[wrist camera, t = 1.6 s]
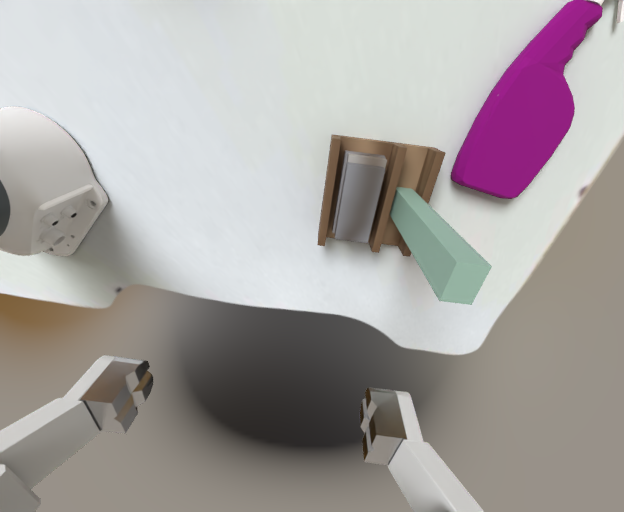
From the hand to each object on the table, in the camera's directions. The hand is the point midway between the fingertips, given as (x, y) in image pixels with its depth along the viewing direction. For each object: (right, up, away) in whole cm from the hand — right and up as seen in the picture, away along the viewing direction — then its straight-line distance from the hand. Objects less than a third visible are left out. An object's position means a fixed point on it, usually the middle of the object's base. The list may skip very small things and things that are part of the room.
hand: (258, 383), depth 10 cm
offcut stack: (+8, +13, +27) cm, 31 cm away
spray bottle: (+29, +25, +22) cm, 44 cm away
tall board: (+14, +13, +27) cm, 33 cm away
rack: (+10, +14, +28) cm, 33 cm away
